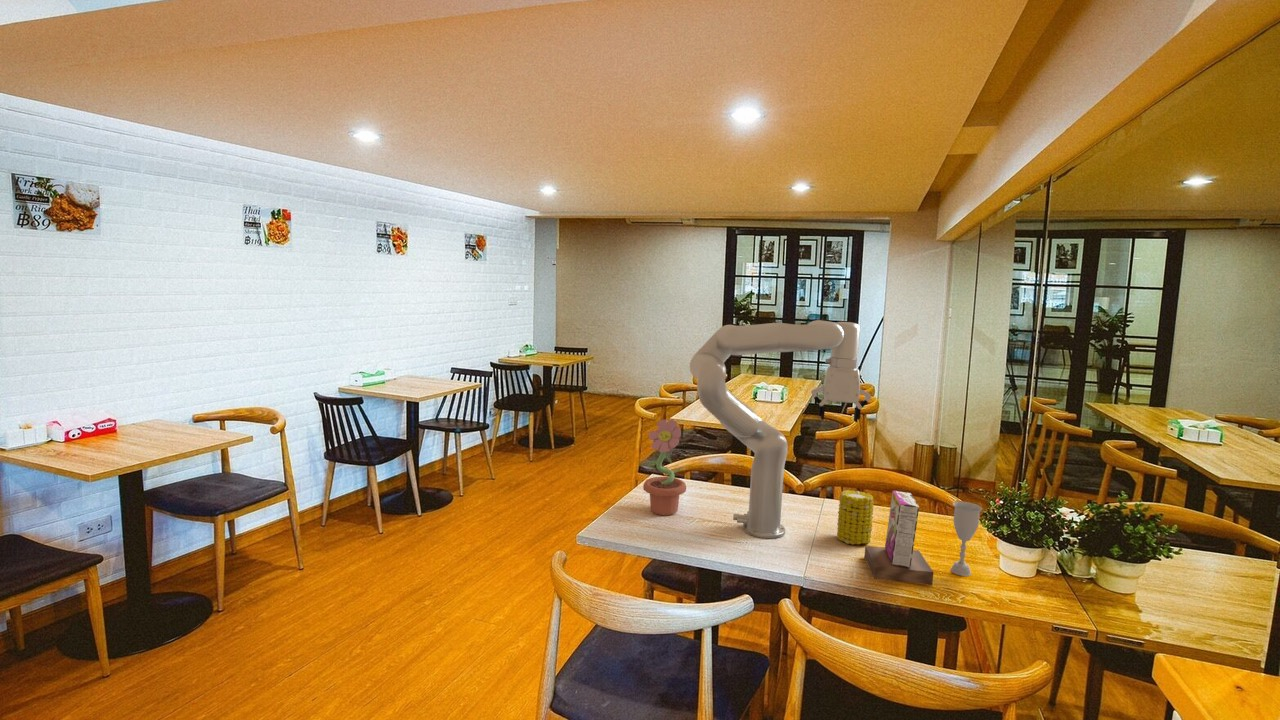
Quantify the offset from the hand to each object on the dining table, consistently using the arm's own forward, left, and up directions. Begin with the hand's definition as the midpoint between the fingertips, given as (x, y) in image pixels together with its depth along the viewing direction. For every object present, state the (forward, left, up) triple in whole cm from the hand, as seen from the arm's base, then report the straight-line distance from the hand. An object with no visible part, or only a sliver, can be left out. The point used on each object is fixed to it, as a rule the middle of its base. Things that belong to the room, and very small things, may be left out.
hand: (838, 420), depth 188 cm
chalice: (+31, -22, -34) cm, 51 cm away
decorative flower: (-52, +1, -34) cm, 63 cm away
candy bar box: (+13, -26, -31) cm, 42 cm away
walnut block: (+14, -26, -35) cm, 45 cm away
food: (+6, -7, -34) cm, 35 cm away
